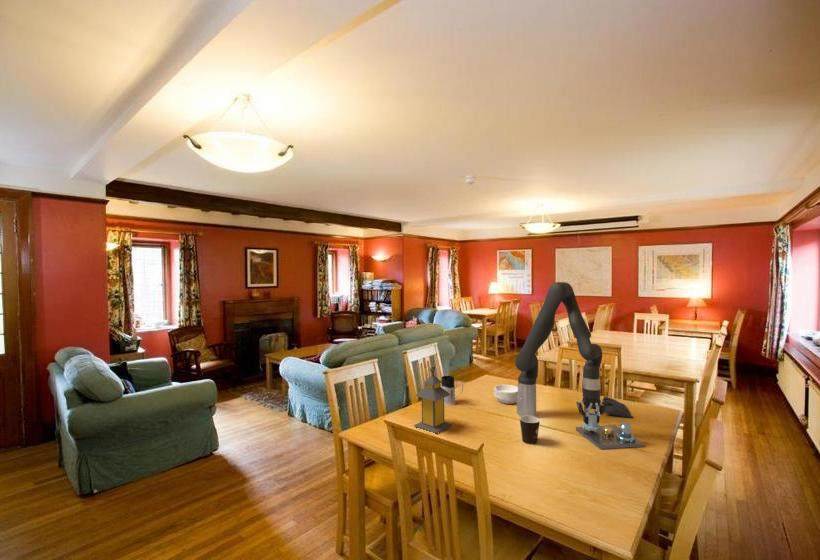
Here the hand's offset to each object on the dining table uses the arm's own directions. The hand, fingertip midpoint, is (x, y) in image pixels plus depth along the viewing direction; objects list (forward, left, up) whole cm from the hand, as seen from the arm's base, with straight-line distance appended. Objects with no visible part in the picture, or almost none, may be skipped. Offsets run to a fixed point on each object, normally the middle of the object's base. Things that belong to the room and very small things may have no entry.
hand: (591, 423), depth 180 cm
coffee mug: (-30, -3, -5) cm, 31 cm away
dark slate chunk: (+29, +27, -6) cm, 41 cm away
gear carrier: (+5, -5, -5) cm, 9 cm away
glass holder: (-56, +49, -5) cm, 75 cm away
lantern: (-72, +18, -5) cm, 74 cm away
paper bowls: (-23, +49, -5) cm, 54 cm away
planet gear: (0, 0, -2) cm, 2 cm away
